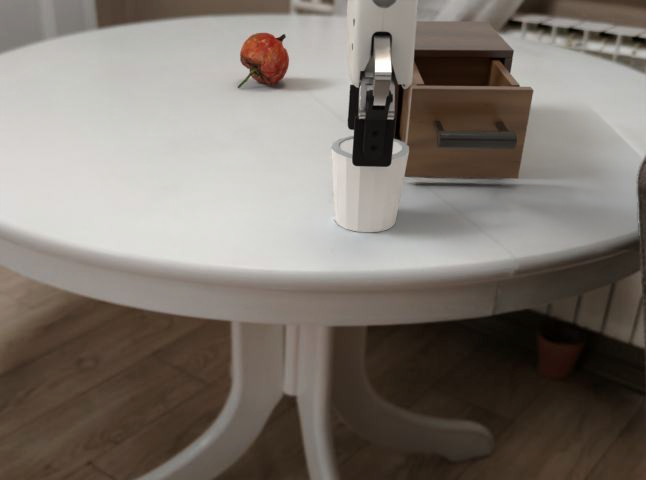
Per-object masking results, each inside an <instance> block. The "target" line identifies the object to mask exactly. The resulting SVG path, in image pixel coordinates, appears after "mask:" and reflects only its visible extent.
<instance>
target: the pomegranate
mask: <svg viewBox="0 0 646 480" xmlns="http://www.w3.org/2000/svg"><path fill="white" fill-rule="evenodd" d="M286 38H287V37H286V34H285V33H282V34H281V35H279V36H278V37H276V36H275V35H273V34H272V33H269V32H256V33H253V34H251V35H250V36H249V37H248V38H247V39H246V40H245V41H244V42H243V43H242V46H241V49H240V53H239V56H240V57H239V58H240V59H239V61H240V62H241V65H242V66H243V67H245V68H246V69H248V71H249V73H248V74H247V76H246V77H245V78H244V79H243V81H241V83H240V84H239V85H237V88H238V89H240V88H241V87H242V86H243V85H244V84H245V83H246V82H248V80H249V79H250V78H252V79H253V80H254V81H256V82H258V83H262V84H265V85H267V86H269V87H270V86H271V87H272V86H275V85H277V84H278V83H279V82H280V81H281V80H283V79H284V77H285V76H286V74H287V72H288V69H289V65H290V57H289V53H288V50H287V48H285V46H284V44H283V41H284V40H285V39H286Z"/></svg>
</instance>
